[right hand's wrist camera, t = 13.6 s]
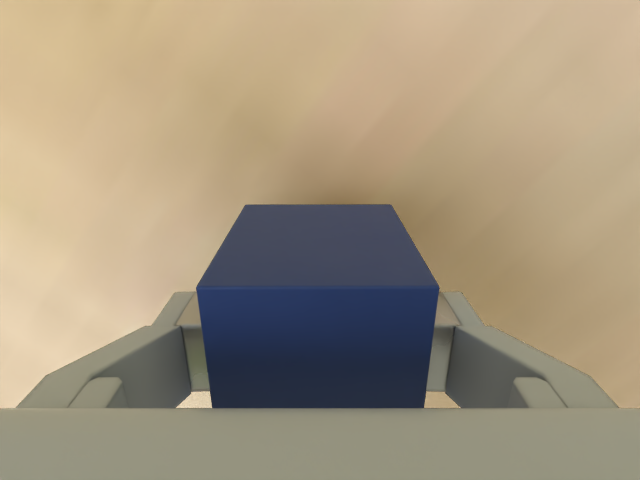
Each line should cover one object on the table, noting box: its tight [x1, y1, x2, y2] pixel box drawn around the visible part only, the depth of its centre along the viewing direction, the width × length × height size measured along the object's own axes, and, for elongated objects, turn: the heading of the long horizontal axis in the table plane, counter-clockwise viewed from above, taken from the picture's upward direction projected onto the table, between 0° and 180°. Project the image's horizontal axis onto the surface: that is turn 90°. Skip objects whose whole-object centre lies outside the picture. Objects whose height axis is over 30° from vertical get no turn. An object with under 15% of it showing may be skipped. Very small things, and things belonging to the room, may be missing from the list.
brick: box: [196, 205, 439, 408], centre depth 10 cm, size 5×4×5 cm
